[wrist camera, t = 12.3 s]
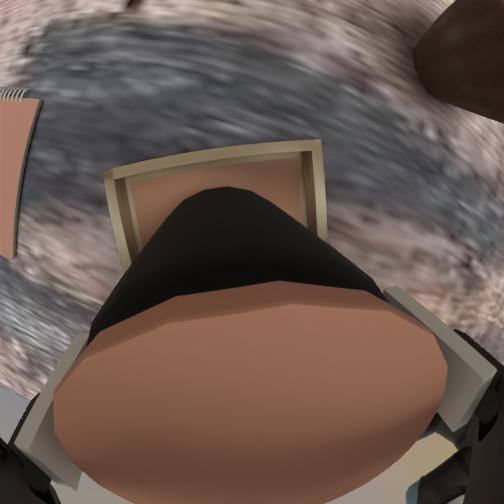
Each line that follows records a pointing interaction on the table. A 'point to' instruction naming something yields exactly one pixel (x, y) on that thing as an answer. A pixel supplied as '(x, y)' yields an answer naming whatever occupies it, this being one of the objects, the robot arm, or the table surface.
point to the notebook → (13, 160)
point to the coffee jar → (245, 366)
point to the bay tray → (215, 186)
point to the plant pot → (466, 57)
